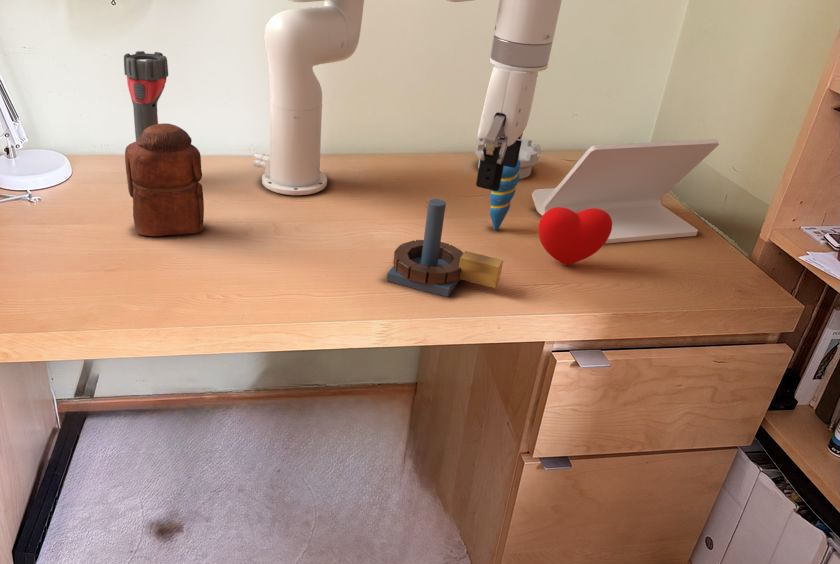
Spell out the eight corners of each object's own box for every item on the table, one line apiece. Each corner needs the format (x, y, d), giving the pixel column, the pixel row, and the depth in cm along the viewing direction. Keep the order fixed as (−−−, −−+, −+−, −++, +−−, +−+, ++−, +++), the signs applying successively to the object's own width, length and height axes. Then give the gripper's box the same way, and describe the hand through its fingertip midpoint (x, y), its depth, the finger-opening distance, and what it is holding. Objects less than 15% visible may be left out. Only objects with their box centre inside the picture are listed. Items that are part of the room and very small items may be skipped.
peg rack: (386, 281, 121) (394, 206, 114) (408, 255, 128) (417, 183, 121) (448, 297, 117) (459, 221, 111) (467, 269, 125) (478, 197, 118)
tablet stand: (698, 235, 141) (729, 144, 131) (576, 246, 134) (600, 151, 125) (640, 195, 155) (665, 110, 146) (528, 203, 149) (545, 115, 139)
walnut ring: (383, 273, 120) (385, 252, 118) (408, 245, 128) (410, 225, 126) (487, 300, 114) (491, 279, 112) (506, 269, 123) (510, 248, 121)
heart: (595, 258, 131) (610, 203, 125) (605, 273, 127) (621, 217, 121) (527, 256, 130) (538, 200, 125) (535, 272, 126) (547, 215, 120)
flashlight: (166, 168, 154) (157, 48, 141) (181, 182, 148) (173, 58, 136) (128, 174, 150) (115, 51, 138) (141, 188, 145) (129, 62, 132)
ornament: (508, 238, 136) (524, 155, 127) (479, 234, 136) (493, 151, 128) (509, 225, 140) (524, 144, 132) (480, 221, 141) (494, 141, 132)
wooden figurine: (201, 219, 136) (196, 117, 126) (206, 235, 130) (201, 130, 120) (131, 223, 133) (120, 119, 123) (133, 240, 128) (122, 133, 118)
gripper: (508, 34, 108) (487, 152, 118) (473, 62, 95) (452, 191, 105) (562, 43, 106) (536, 162, 116) (533, 73, 93) (507, 204, 103)
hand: (496, 176), depth 110 cm, fingers open, 9 cm apart
